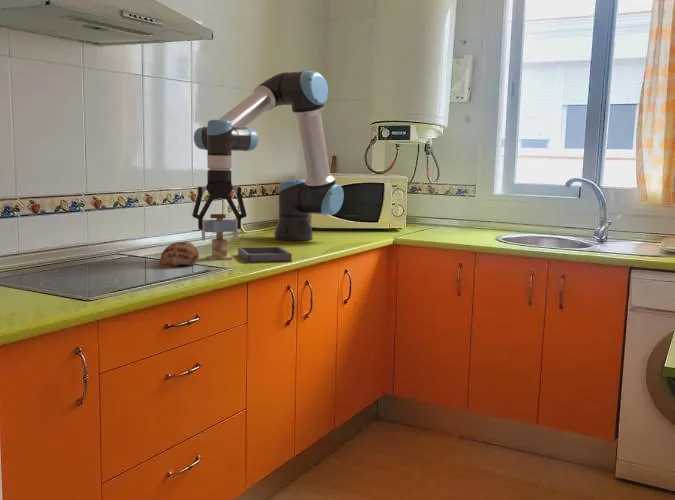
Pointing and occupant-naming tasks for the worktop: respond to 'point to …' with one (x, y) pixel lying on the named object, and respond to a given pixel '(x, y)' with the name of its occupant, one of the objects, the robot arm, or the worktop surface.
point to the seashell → (179, 254)
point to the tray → (264, 254)
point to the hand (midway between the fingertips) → (219, 239)
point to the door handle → (219, 243)
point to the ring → (220, 226)
